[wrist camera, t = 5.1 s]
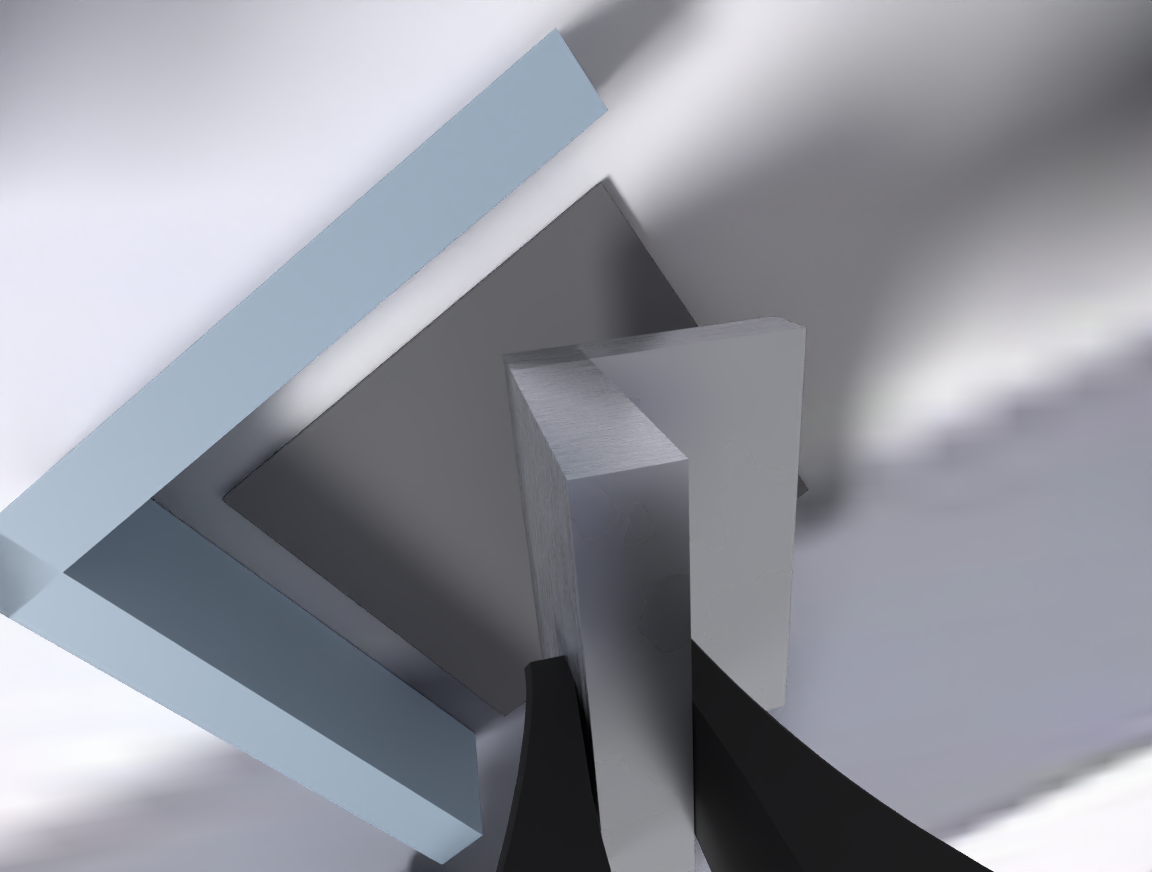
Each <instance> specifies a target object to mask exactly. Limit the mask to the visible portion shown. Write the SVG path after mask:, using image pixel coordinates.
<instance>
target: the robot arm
mask: <svg viewBox="0 0 1152 872" xmlns="http://www.w3.org/2000/svg"><path fill="white" fill-rule="evenodd" d="M691 663H692V726H693V789H694V833H695V835H696V838H697V840H698V842H699V844H700V847H701V849H702V851H703V853H704V856H705V858H706V860H707V862H708V865H709V867H710V869H711V871H712V872H993V871H991V870H990V869H988V868H986V867H984V866H983V865H981V864H979V863H978V862H976V861H974V860H973V859H971V858H969V857H968V856H966V855H964V854H963V853H961V852H959V851H958V850H956V849H955V848H953V847H951V846H950V845H948V844H946V843H945V842H943V841H941V840H940V839H938V838H936V837H935V836H933V835H931V834H930V833H928V832H926V831H925V830H923V829H921V828H920V827H918V826H917V825H915V824H913V823H912V822H910V821H909V820H907V819H906V818H905V817H903V816H902V815H900V814H899V813H897V812H896V811H894V810H893V809H891V808H890V807H888V806H887V805H885V804H884V803H882V802H881V801H879V800H878V799H876V798H875V797H874V796H872V795H871V794H869V793H868V792H867V791H865V790H864V789H862V788H861V787H860V786H858V785H857V784H855V783H854V782H853V781H851V780H850V779H849V778H847V777H846V776H845V775H843V774H842V773H841V772H839V771H838V770H837V769H835V768H834V767H833V766H831V765H830V764H829V763H828V762H826V761H825V760H824V759H822V758H821V757H820V756H819V755H817V754H816V753H815V752H814V751H812V750H811V749H810V748H809V747H808V746H806V745H805V744H804V743H803V742H801V741H800V740H799V739H798V738H797V737H795V736H794V735H793V734H792V733H791V732H789V731H788V730H787V729H786V728H785V727H784V726H782V725H781V724H780V723H779V722H778V721H777V720H776V719H774V718H773V717H772V716H771V715H770V714H769V713H768V712H767V711H766V710H764V709H763V708H762V707H761V706H760V705H759V704H758V703H757V702H756V701H755V700H753V699H752V698H751V697H750V696H749V695H748V694H747V693H746V692H745V691H744V690H743V689H742V688H740V687H739V686H738V685H737V684H736V683H735V682H734V681H733V680H732V679H731V678H730V677H729V676H728V675H727V674H726V673H725V672H724V671H723V670H722V669H721V668H720V667H719V666H718V665H717V664H716V663H715V662H714V661H713V660H712V659H711V658H710V657H709V656H708V655H707V654H706V653H705V652H704V651H703V650H702V649H701V648H700V647H699V646H698V645H697V644H696V642H695V641H694V640H693V639H692V638H691ZM524 671H525V678H526V713H525V725H524V735H523V742H522V749H521V756H520V764H519V771H518V777H517V782H516V787H515V792H514V797H513V802H512V807H511V812H510V816H509V821H508V826H507V831H506V835H505V839H504V843H503V847H502V851H501V855H500V859H499V863H498V867H497V870H496V872H611V868H610V865H609V861H608V857H607V854H606V850H605V847H604V843H603V839H602V836H601V832H600V828H599V825H598V821H597V816H596V811H595V807H594V802H593V797H592V791H591V785H590V778H589V772H588V766H587V759H586V753H585V746H584V740H583V734H582V727H581V721H580V715H579V708H578V702H577V696H576V689H575V685H574V682H573V679H572V676H571V673H570V670H569V667H568V664H567V661H566V659H565V657H564V655H562V656H557V657H552V658H548V659H543V660H538V661H533V662H530V663H529V664H528V665H527V666H526V667H525V668H524Z"/></svg>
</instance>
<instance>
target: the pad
mask: <svg viewBox="0 0 1152 872" xmlns="http://www.w3.org/2000/svg"><path fill="white" fill-rule="evenodd" d="M694 327H698V326H697V324H696V323H695V321H694V320H693V318H692V317H691V315H690V314H689V312H688V311H687V309H686V308H685V306H684V305H683V303H682V302H681V301H680V299H679V298H678V296H677V295H676V293H675V292H674V290H673V289H672V287H671V286H670V284H669V283H668V281H667V280H666V278H665V277H664V275H663V274H662V272H661V271H660V269H659V268H658V266H657V265H656V264H655V262H654V261H653V259H652V258H651V256H650V255H649V253H648V252H647V250H646V249H645V247H644V246H643V244H642V243H641V241H640V240H639V238H638V237H637V235H636V234H635V232H634V231H633V229H632V228H631V227H630V225H629V224H628V222H627V221H626V219H625V218H624V216H623V215H622V213H621V212H620V210H619V209H618V207H617V206H616V204H615V203H614V201H613V200H612V198H611V197H610V195H609V194H608V192H607V191H606V190H605V188H604V187H603V185H602V184H601V183H598V184H597V185H596V186H595V187H593V188H592V189H591V190H590V191H589V192H587V193H586V194H585V195H584V196H583V197H581V198H580V199H579V200H578V201H577V202H575V203H574V204H573V205H572V206H571V207H569V208H568V209H567V210H566V211H565V212H563V213H562V214H561V215H560V216H559V217H557V218H556V219H555V220H554V221H553V222H551V223H550V224H549V225H548V226H547V227H545V228H544V229H543V230H542V231H541V232H539V233H538V234H537V235H536V236H535V237H533V238H532V239H531V240H530V241H529V242H528V243H526V244H525V245H524V246H523V247H522V248H520V249H519V250H518V251H517V252H516V253H514V254H513V255H512V256H511V257H510V258H508V259H507V260H506V261H505V262H504V263H502V264H501V265H500V266H499V267H498V268H496V269H495V270H494V271H493V272H492V273H490V274H489V275H488V276H487V277H486V278H484V279H483V280H482V281H481V282H480V283H478V284H477V285H476V286H475V287H474V288H472V289H471V290H470V291H469V292H468V293H466V294H465V295H464V296H463V297H462V298H460V299H459V300H458V301H457V302H456V303H455V304H453V305H452V306H451V307H450V308H449V309H447V310H446V311H445V312H444V313H443V314H441V315H440V316H439V317H438V318H437V319H435V320H434V321H433V322H432V323H431V324H429V325H428V326H427V327H426V328H425V329H423V330H422V331H421V332H420V333H419V334H417V335H416V336H415V337H414V338H413V339H411V340H410V341H409V342H408V343H407V344H405V345H404V346H403V347H402V348H401V349H399V350H398V351H397V352H396V353H395V354H393V355H392V356H391V357H390V358H389V359H387V360H386V361H385V362H384V363H383V364H382V365H380V366H379V367H378V368H377V369H376V370H374V371H373V372H372V373H371V374H370V375H368V376H367V377H366V378H365V379H364V380H362V381H361V382H360V383H359V384H358V385H356V386H355V387H354V388H353V389H352V390H350V391H349V392H348V393H347V394H346V395H344V396H343V397H342V398H341V399H340V400H338V401H337V402H336V403H335V404H334V405H332V406H331V407H330V408H329V409H328V410H326V411H325V412H324V413H323V414H322V415H320V416H319V417H318V418H317V419H316V420H314V421H313V422H312V423H311V424H310V425H309V426H307V427H306V428H305V429H304V430H303V431H301V432H300V433H299V434H298V435H297V436H295V437H294V438H293V439H292V440H291V441H289V442H288V443H287V444H286V445H285V446H283V447H282V448H281V449H280V450H279V451H277V452H276V453H275V454H274V455H273V456H271V457H270V458H269V459H268V460H267V461H265V462H264V463H263V464H262V465H261V466H259V467H258V468H257V469H256V470H255V471H253V472H252V473H251V474H250V475H249V476H247V477H246V478H245V479H244V480H243V481H241V482H240V483H239V484H238V485H237V486H236V487H234V488H233V489H232V490H231V491H230V492H228V493H227V494H226V495H225V496H224V497H223V499H222V500H223V501H224V502H225V503H227V504H228V505H229V506H231V507H232V508H233V509H235V510H236V511H237V512H239V513H240V514H241V515H242V516H244V517H245V518H246V519H248V520H249V521H250V522H252V523H253V524H254V525H256V526H257V527H258V528H259V529H261V530H262V531H263V532H265V533H266V534H267V535H269V536H270V537H271V538H273V539H274V540H275V541H276V542H278V543H279V544H280V545H282V546H283V547H284V548H286V549H287V550H288V551H290V552H291V553H292V554H293V555H295V556H296V557H297V558H299V559H300V560H301V561H303V562H304V563H305V564H306V565H308V566H309V567H310V568H312V569H313V570H314V571H316V572H317V573H318V574H320V575H321V576H322V577H323V578H325V579H326V580H327V581H329V582H330V583H331V584H333V585H334V586H335V587H337V588H338V589H339V590H340V591H342V592H343V593H344V594H346V595H347V596H348V597H350V598H351V599H352V600H354V601H355V602H356V603H357V604H359V605H360V606H361V607H363V608H364V609H365V610H367V611H368V612H369V613H371V614H372V615H373V616H374V617H376V618H377V619H378V620H380V621H381V622H382V623H384V624H385V625H386V626H388V627H389V628H390V629H391V630H393V631H394V632H395V633H397V634H398V635H399V636H401V637H402V638H403V639H405V640H406V641H407V642H408V643H410V644H411V645H412V646H414V647H415V648H416V649H418V650H419V651H420V652H421V653H423V654H424V655H425V656H427V657H428V658H429V659H431V660H432V661H433V662H435V663H436V664H437V665H438V666H440V667H441V668H442V669H444V670H445V671H446V672H448V673H449V674H450V675H452V676H453V677H454V678H455V679H457V680H458V681H459V682H461V683H462V684H463V685H465V686H466V687H467V688H469V689H470V690H471V691H472V692H474V693H475V694H476V695H478V696H479V697H480V698H482V699H483V700H484V701H486V702H487V703H488V704H489V705H491V706H492V707H493V708H495V709H496V710H497V711H499V712H500V713H501V714H503V715H504V716H506V715H507V714H509V713H510V712H511V711H513V710H514V709H515V708H517V707H518V706H519V705H521V704H522V703H523V702H525V701H526V678H525V671H524V668H525V667H526V666H527V665H528V664H529V663H530V662H533V661H538V660H542V658H541V650H540V642H539V635H538V627H537V619H536V611H535V604H534V596H533V588H532V580H531V573H530V565H529V557H528V550H527V542H526V534H525V526H524V519H523V511H522V503H521V495H520V488H519V480H518V472H517V464H516V457H515V449H514V441H513V434H512V426H511V418H510V410H509V403H508V395H507V387H506V379H505V372H504V364H503V356H502V354H509V353H516V352H523V351H530V350H537V349H545V348H552V347H559V346H566V345H573V344H580V343H587V342H594V341H602V340H609V339H616V338H623V337H630V336H637V335H644V334H651V333H659V332H666V331H673V330H680V329H687V328H694ZM806 491H808V488H807V487H806V485H805V484H804V482H803V481H802V480H801V478H800V477H799V475H798V484H797V498H798V497H800V496H801V495H802V494H804V493H805V492H806Z"/></svg>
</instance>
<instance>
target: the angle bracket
mask: <svg viewBox="0 0 1152 872" xmlns="http://www.w3.org/2000/svg"><path fill="white" fill-rule="evenodd" d="M805 344H806V327H804V326H801V325H798V324H796V323H793V322H791V321H788V320H785V319H783V318H780V317H777V316H773V317H765V318H758V319H751V320H744V321H737V322H730V323H723V324H716V325H708V326H701V327H694V328H687V329H680V330H673V331H666V332H659V333H651V334H644V335H637V336H630V337H623V338H616V339H609V340H602V341H594V342H587V343H580V344H573V345H566V346H559V347H552V348H545V349H537V350H530V351H523V352H516V353H509V354H502V356H503V364H504V372H505V379H506V387H507V395H508V403H509V410H510V418H511V426H512V434H513V441H514V449H515V457H516V464H517V472H518V480H519V488H520V495H521V503H522V511H523V519H524V526H525V534H526V542H527V550H528V557H529V565H530V573H531V580H532V588H533V596H534V604H535V611H536V619H537V627H538V635H539V642H540V650H541V658H542V660H543V659H548V658H552V657H557V656H562V655H564V657H565V659H566V661H567V664H568V667H569V670H570V673H571V676H572V679H573V682H574V685H575V689H576V696H577V702H578V708H579V715H580V721H581V727H582V734H583V740H584V746H585V753H586V759H587V766H588V772H589V778H590V785H591V791H592V797H593V802H594V807H595V811H596V816H597V821H598V825H599V828H600V832H601V836H602V839H603V843H604V847H605V850H606V854H607V857H608V861H609V865H610V868H611V872H695V852H694V789H693V726H692V663H691V638H692V639H693V640H694V641H695V642H696V644H697V645H698V646H699V647H700V648H701V649H702V650H703V651H704V652H705V653H706V654H707V655H708V656H709V657H710V658H711V659H712V660H713V661H714V662H715V663H716V664H717V665H718V666H719V667H720V668H721V669H722V670H723V671H724V672H725V673H726V674H727V675H728V676H729V677H730V678H731V679H732V680H733V681H734V682H735V683H736V684H737V685H738V686H739V687H740V688H742V689H743V690H744V691H745V692H746V693H747V694H748V695H749V696H750V697H751V698H752V699H753V700H755V701H756V702H757V703H758V704H759V705H760V706H761V707H762V708H763V709H764V710H766V711H767V710H771V709H775V708H779V707H783V706H785V695H786V677H787V660H788V642H789V625H790V607H791V589H792V572H793V554H794V537H795V519H796V502H797V484H798V467H799V449H800V432H801V414H802V396H803V379H804V361H805Z"/></svg>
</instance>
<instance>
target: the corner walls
mask: <svg viewBox="0 0 1152 872" xmlns="http://www.w3.org/2000/svg"><path fill="white" fill-rule="evenodd" d="M607 110H608V109H607V107H606V106H605V104H604V103H603V101H602V100H601V98H600V96H599V95H598V93H597V92H596V90H595V89H594V87H593V85H592V84H591V82H590V81H589V79H588V78H587V76H586V74H585V73H584V71H583V70H582V68H581V66H580V65H579V63H578V62H577V60H576V59H575V57H574V55H573V54H572V52H571V51H570V49H569V48H568V46H567V44H566V43H565V41H564V40H563V38H562V36H561V35H560V33H559V32H558V30H557V29H556V28H555V29H554V30H553V31H552V32H551V33H549V34H548V35H547V36H546V37H545V38H544V39H542V40H541V41H540V42H539V43H538V44H537V45H536V46H534V47H533V48H532V49H531V50H530V51H529V52H528V53H526V54H525V55H524V56H523V57H522V58H521V59H520V60H518V61H517V62H516V63H515V64H514V65H513V66H512V67H510V68H509V69H508V70H507V71H506V72H505V73H504V74H502V75H501V76H500V77H499V78H498V79H497V80H496V81H494V82H493V83H492V84H491V85H490V86H489V87H488V88H486V89H485V90H484V91H483V92H482V93H481V94H479V95H478V96H477V97H476V98H475V99H474V100H473V101H471V102H470V103H469V104H468V105H467V106H466V107H465V108H463V109H462V110H461V111H460V112H459V113H458V114H457V115H455V116H454V117H453V118H452V119H451V120H450V121H449V122H447V123H446V124H445V125H444V126H443V127H442V128H441V129H439V130H438V131H437V132H436V133H435V134H434V135H433V136H431V137H430V138H429V139H428V140H427V141H426V142H424V143H423V144H422V145H421V146H420V147H419V148H418V149H416V150H415V151H414V152H413V153H412V154H411V155H410V156H408V157H407V158H406V159H405V160H404V161H403V162H402V163H400V164H399V165H398V166H397V167H396V168H395V169H394V170H392V171H391V172H390V173H389V174H388V175H387V176H386V177H384V178H383V179H382V180H381V181H380V182H379V183H378V184H376V185H375V186H374V187H373V188H372V189H371V190H370V191H368V192H367V193H366V194H365V195H364V196H363V197H361V198H360V199H359V200H358V201H357V202H356V203H355V204H353V205H352V206H351V207H350V208H349V209H348V210H347V211H345V212H344V213H343V214H342V215H341V216H340V217H339V218H337V219H336V220H335V221H334V222H333V223H332V224H331V225H329V226H328V227H327V228H326V229H325V230H324V231H323V232H321V233H320V234H319V235H318V236H317V237H316V238H315V239H313V240H312V241H311V242H310V243H309V244H308V245H306V246H305V247H304V248H303V249H302V250H301V251H300V252H298V253H297V254H296V255H295V256H294V257H293V258H292V259H290V260H289V261H288V262H287V263H286V264H285V265H284V266H282V267H281V268H280V269H279V270H278V271H277V272H276V273H274V274H273V275H272V276H271V277H270V278H269V279H268V280H266V281H265V282H264V283H263V284H262V285H261V286H260V287H258V288H257V289H256V290H255V291H254V292H253V293H252V294H250V295H249V296H248V297H247V298H246V299H245V300H243V301H242V302H241V303H240V304H239V305H238V306H237V307H235V308H234V309H233V310H232V311H231V312H230V313H229V314H227V315H226V316H225V317H224V318H223V319H222V320H221V321H219V322H218V323H217V324H216V325H215V326H214V327H213V328H211V329H210V330H209V331H208V332H207V333H206V334H205V335H203V336H202V337H201V338H200V339H199V340H198V341H197V342H195V343H194V344H193V345H192V346H191V347H190V348H188V349H187V350H186V351H185V352H184V353H183V354H182V355H180V356H179V357H178V358H177V359H176V360H175V361H174V362H172V363H171V364H170V365H169V366H168V367H167V368H166V369H164V370H163V371H162V372H161V373H160V374H159V375H158V376H156V377H155V378H154V379H153V380H152V381H151V382H150V383H148V384H147V385H146V386H145V387H144V388H143V389H142V390H140V391H139V392H138V393H137V394H136V395H135V396H133V397H132V398H131V399H130V400H129V401H128V402H127V403H125V404H124V405H123V406H122V407H121V408H120V409H119V410H117V411H116V412H115V413H114V414H113V415H112V416H111V417H109V418H108V419H107V420H106V421H105V422H104V423H103V424H101V425H100V426H99V427H98V428H97V429H96V430H95V431H93V432H92V433H91V434H90V435H89V436H88V437H87V438H85V439H84V440H83V441H82V442H81V443H80V444H79V445H77V446H76V447H75V448H74V449H73V450H72V451H70V452H69V453H68V454H67V455H66V456H65V457H64V458H62V459H61V460H60V461H59V462H58V463H57V464H56V465H54V466H53V467H52V468H51V469H50V470H49V471H48V472H46V473H45V474H44V475H43V476H42V477H41V478H40V479H38V480H37V481H36V482H35V483H34V484H33V485H32V486H30V487H29V488H28V489H27V490H26V491H25V492H24V493H22V494H21V495H20V496H19V497H18V498H17V499H15V500H14V501H13V502H12V503H11V504H10V505H9V506H7V507H6V508H5V509H4V510H3V511H2V512H1V513H0V613H1V614H3V615H5V616H6V617H8V618H10V619H12V620H13V621H15V622H17V623H19V624H20V625H22V626H24V627H26V628H27V629H29V630H31V631H33V632H34V633H36V634H38V635H40V636H41V637H43V638H45V639H47V640H48V641H50V642H52V643H54V644H56V645H57V646H59V647H61V648H63V649H64V650H66V651H68V652H70V653H71V654H73V655H75V656H77V657H78V658H80V659H82V660H84V661H85V662H87V663H89V664H91V665H92V666H94V667H96V668H98V669H99V670H101V671H103V672H105V673H106V674H108V675H110V676H112V677H113V678H115V679H117V680H119V681H120V682H122V683H124V684H126V685H127V686H129V687H131V688H133V689H134V690H136V691H138V692H140V693H141V694H143V695H145V696H147V697H148V698H150V699H152V700H154V701H155V702H157V703H159V704H161V705H162V706H164V707H166V708H168V709H169V710H171V711H173V712H175V713H177V714H178V715H180V716H182V717H184V718H185V719H187V720H189V721H191V722H192V723H194V724H196V725H198V726H199V727H201V728H203V729H205V730H206V731H208V732H210V733H212V734H213V735H215V736H217V737H219V738H220V739H222V740H224V741H226V742H227V743H229V744H231V745H233V746H234V747H236V748H238V749H240V750H241V751H243V752H245V753H247V754H248V755H250V756H252V757H254V758H255V759H257V760H259V761H261V762H262V763H264V764H266V765H268V766H269V767H271V768H273V769H275V770H276V771H278V772H280V773H282V774H283V775H285V776H287V777H289V778H291V779H292V780H294V781H296V782H298V783H299V784H301V785H303V786H305V787H306V788H308V789H310V790H312V791H313V792H315V793H317V794H319V795H320V796H322V797H324V798H326V799H327V800H329V801H331V802H333V803H334V804H336V805H338V806H340V807H341V808H343V809H345V810H347V811H348V812H350V813H352V814H354V815H355V816H357V817H359V818H361V819H362V820H364V821H366V822H368V823H369V824H371V825H373V826H375V827H376V828H378V829H380V830H382V831H383V832H385V833H387V834H389V835H390V836H392V837H394V838H396V839H397V840H399V841H401V842H403V843H405V844H406V845H408V846H410V847H412V848H413V849H415V850H417V851H419V852H420V853H422V854H424V855H426V856H427V857H429V858H431V859H433V860H434V861H436V862H438V863H440V864H441V865H442V864H444V863H445V862H447V861H448V860H449V859H451V858H452V857H453V856H455V855H456V854H458V853H459V852H460V851H462V850H463V849H464V848H466V847H467V846H469V845H470V844H471V843H473V842H474V841H475V840H477V839H478V838H480V837H481V836H482V835H483V831H482V818H481V805H480V792H479V780H478V767H477V754H476V741H475V733H474V732H472V731H471V730H469V729H468V728H467V727H465V726H464V725H462V724H461V723H460V722H458V721H457V720H456V719H454V718H453V717H451V716H450V715H449V714H447V713H446V712H445V711H443V710H442V709H440V708H439V707H438V706H436V705H435V704H433V703H432V702H431V701H429V700H428V699H427V698H425V697H424V696H422V695H421V694H420V693H418V692H417V691H416V690H414V689H413V688H411V687H410V686H409V685H407V684H406V683H404V682H403V681H402V680H400V679H399V678H398V677H396V676H395V675H393V674H392V673H391V672H389V671H388V670H387V669H385V668H384V667H382V666H381V665H380V664H378V663H377V662H375V661H374V660H373V659H371V658H370V657H369V656H367V655H366V654H364V653H363V652H362V651H360V650H359V649H358V648H356V647H355V646H353V645H352V644H351V643H349V642H348V641H346V640H345V639H344V638H342V637H341V636H340V635H338V634H337V633H335V632H334V631H333V630H331V629H330V628H329V627H327V626H326V625H324V624H323V623H322V622H320V621H319V620H317V619H316V618H315V617H313V616H312V615H311V614H309V613H308V612H306V611H305V610H304V609H302V608H301V607H300V606H298V605H297V604H295V603H294V602H293V601H291V600H290V599H288V598H287V597H286V596H284V595H283V594H282V593H280V592H279V591H277V590H276V589H275V588H273V587H272V586H271V585H269V584H268V583H266V582H265V581H264V580H262V579H261V578H259V577H258V576H257V575H255V574H254V573H253V572H251V571H250V570H248V569H247V568H246V567H244V566H243V565H241V564H240V563H239V562H237V561H236V560H235V559H233V558H232V557H230V556H229V555H228V554H226V553H225V552H224V551H222V550H221V549H219V548H218V547H217V546H215V545H214V544H212V543H211V542H210V541H208V540H207V539H206V538H204V537H203V536H201V535H200V534H199V533H197V532H196V531H195V530H193V529H192V528H190V527H189V526H188V525H186V524H185V523H183V522H182V521H181V520H179V519H178V518H177V517H175V516H174V515H172V514H171V513H170V512H168V511H167V510H166V509H164V508H163V507H161V506H160V505H159V504H157V503H156V502H154V501H153V500H152V499H150V498H151V497H152V496H154V495H155V494H156V493H157V492H158V491H159V490H161V489H162V488H163V487H164V486H165V485H167V484H168V483H169V482H170V481H171V480H172V479H174V478H175V477H176V476H177V475H178V474H179V473H181V472H182V471H183V470H184V469H185V468H187V467H188V466H189V465H190V464H191V463H192V462H194V461H195V460H196V459H197V458H198V457H200V456H201V455H202V454H203V453H204V452H205V451H207V450H208V449H209V448H210V447H211V446H212V445H214V444H215V443H216V442H217V441H218V440H220V439H221V438H222V437H223V436H224V435H225V434H227V433H228V432H229V431H230V430H231V429H233V428H234V427H235V426H236V425H237V424H238V423H240V422H241V421H242V420H243V419H244V418H246V417H247V416H248V415H249V414H250V413H251V412H253V411H254V410H255V409H256V408H257V407H258V406H260V405H261V404H262V403H263V402H264V401H266V400H267V399H268V398H269V397H270V396H271V395H273V394H274V393H275V392H276V391H277V390H279V389H280V388H281V387H282V386H283V385H284V384H286V383H287V382H288V381H289V380H290V379H291V378H293V377H294V376H295V375H296V374H297V373H299V372H300V371H301V370H302V369H303V368H304V367H306V366H307V365H308V364H309V363H310V362H312V361H313V360H314V359H315V358H316V357H317V356H319V355H320V354H321V353H322V352H323V351H324V350H326V349H327V348H328V347H329V346H330V345H332V344H333V343H334V342H335V341H336V340H337V339H339V338H340V337H341V336H342V335H343V334H345V333H346V332H347V331H348V330H349V329H350V328H352V327H353V326H354V325H355V324H356V323H358V322H359V321H360V320H361V319H362V318H363V317H365V316H366V315H367V314H368V313H369V312H370V311H372V310H373V309H374V308H375V307H376V306H378V305H379V304H380V303H381V302H382V301H383V300H385V299H386V298H387V297H388V296H389V295H391V294H392V293H393V292H394V291H395V290H396V289H398V288H399V287H400V286H401V285H402V284H403V283H405V282H406V281H407V280H408V279H409V278H411V277H412V276H413V275H414V274H415V273H416V272H418V271H419V270H420V269H421V268H422V267H424V266H425V265H426V264H427V263H428V262H429V261H431V260H432V259H433V258H434V257H435V256H436V255H438V254H439V253H440V252H441V251H442V250H444V249H445V248H446V247H447V246H448V245H449V244H451V243H452V242H453V241H454V240H455V239H457V238H458V237H459V236H460V235H461V234H462V233H464V232H465V231H466V230H467V229H468V228H470V227H471V226H472V225H473V224H474V223H475V222H477V221H478V220H479V219H480V218H481V217H482V216H484V215H485V214H486V213H487V212H488V211H490V210H491V209H492V208H493V207H494V206H495V205H497V204H498V203H499V202H500V201H501V200H503V199H504V198H505V197H506V196H507V195H508V194H510V193H511V192H512V191H513V190H514V189H515V188H517V187H518V186H519V185H520V184H521V183H523V182H524V181H525V180H526V179H527V178H528V177H530V176H531V175H532V174H533V173H534V172H536V171H537V170H538V169H539V168H540V167H541V166H543V165H544V164H545V163H546V162H547V161H548V160H550V159H551V158H552V157H553V156H554V155H556V154H557V153H558V152H559V151H560V150H561V149H563V148H564V147H565V146H566V145H567V144H569V143H570V142H571V141H572V140H573V139H574V138H576V137H577V136H578V135H579V134H580V133H582V132H583V131H584V130H585V129H586V128H587V127H589V126H590V125H591V124H592V123H593V122H594V121H596V120H597V119H598V118H599V117H600V116H602V115H603V114H604V113H605V112H606V111H607Z"/></svg>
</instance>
